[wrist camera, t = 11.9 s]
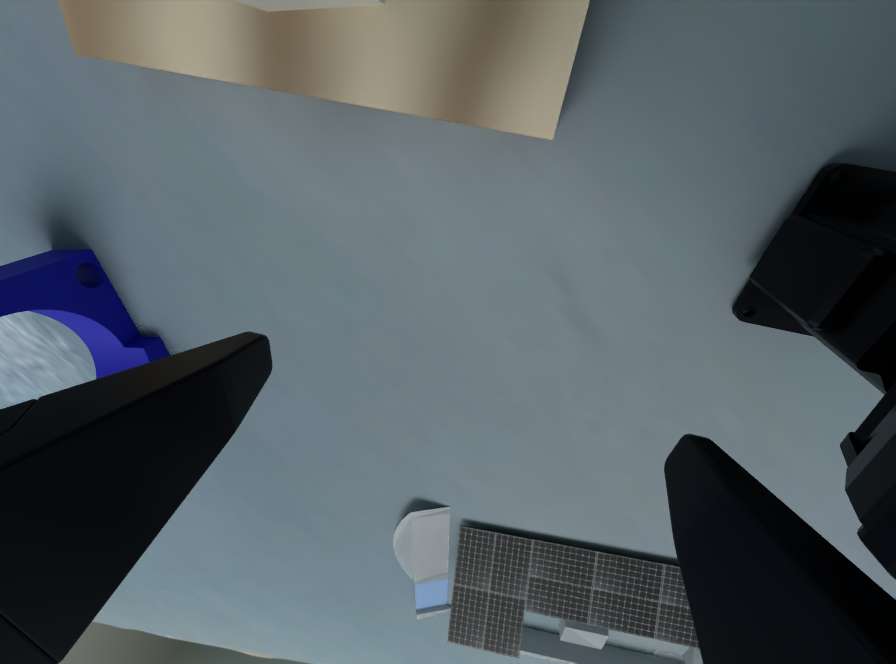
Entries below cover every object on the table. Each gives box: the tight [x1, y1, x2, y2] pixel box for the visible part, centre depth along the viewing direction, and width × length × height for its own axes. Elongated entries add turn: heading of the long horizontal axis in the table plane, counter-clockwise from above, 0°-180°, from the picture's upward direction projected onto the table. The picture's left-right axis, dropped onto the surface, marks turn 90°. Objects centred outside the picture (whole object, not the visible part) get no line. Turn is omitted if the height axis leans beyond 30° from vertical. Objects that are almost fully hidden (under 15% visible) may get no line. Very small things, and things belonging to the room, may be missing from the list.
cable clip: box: [0, 250, 170, 379], centre depth 23 cm, size 12×4×6 cm, turn 5°
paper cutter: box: [393, 507, 703, 664], centre depth 29 cm, size 18×45×6 cm, turn 89°
